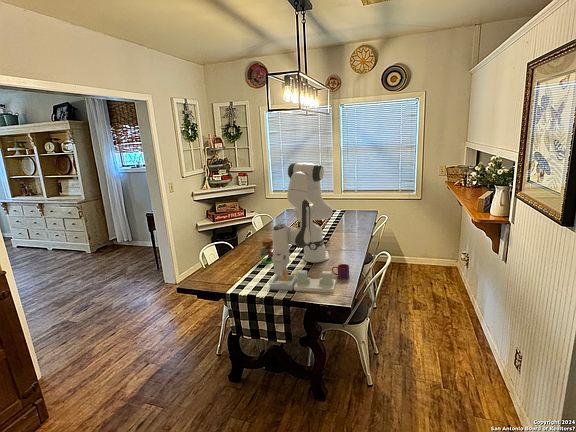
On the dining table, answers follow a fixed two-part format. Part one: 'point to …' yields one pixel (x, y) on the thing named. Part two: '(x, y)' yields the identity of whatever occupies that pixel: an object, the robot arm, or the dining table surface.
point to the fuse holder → (315, 286)
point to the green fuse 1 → (302, 276)
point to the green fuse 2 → (327, 277)
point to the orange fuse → (284, 275)
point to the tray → (283, 283)
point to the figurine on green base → (267, 251)
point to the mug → (342, 271)
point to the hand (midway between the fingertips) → (283, 275)
